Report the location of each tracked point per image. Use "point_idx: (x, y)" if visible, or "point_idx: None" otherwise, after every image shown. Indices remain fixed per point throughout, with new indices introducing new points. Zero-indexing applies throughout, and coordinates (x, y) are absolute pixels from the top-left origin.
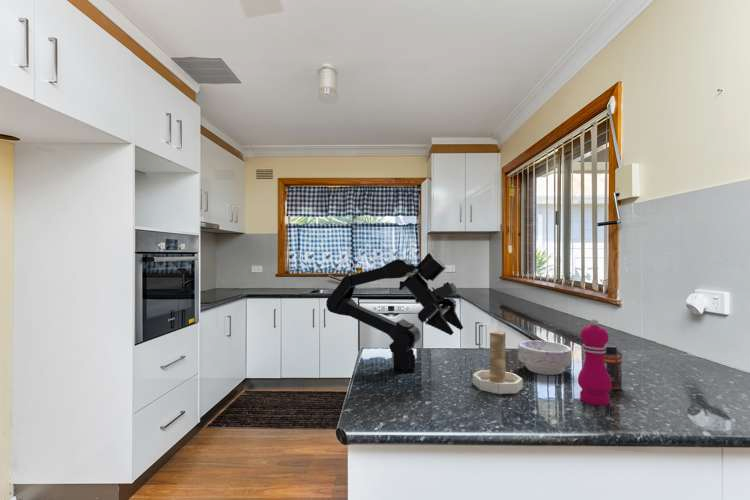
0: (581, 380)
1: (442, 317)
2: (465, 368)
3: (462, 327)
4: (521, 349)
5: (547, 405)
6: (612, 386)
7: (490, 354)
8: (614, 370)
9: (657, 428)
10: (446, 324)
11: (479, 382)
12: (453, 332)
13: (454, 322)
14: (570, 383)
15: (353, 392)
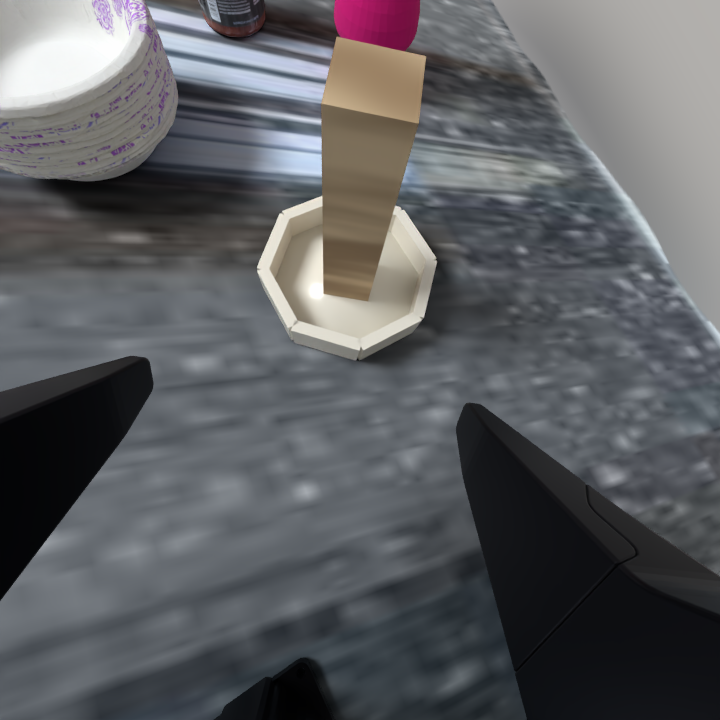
0: (400, 32)
1: (672, 567)
2: (144, 417)
3: (146, 360)
4: (65, 120)
5: (455, 168)
6: (264, 6)
7: (387, 228)
8: None
9: (478, 22)
10: (566, 474)
11: (416, 325)
12: (470, 403)
13: (70, 458)
14: (234, 91)
15: None
